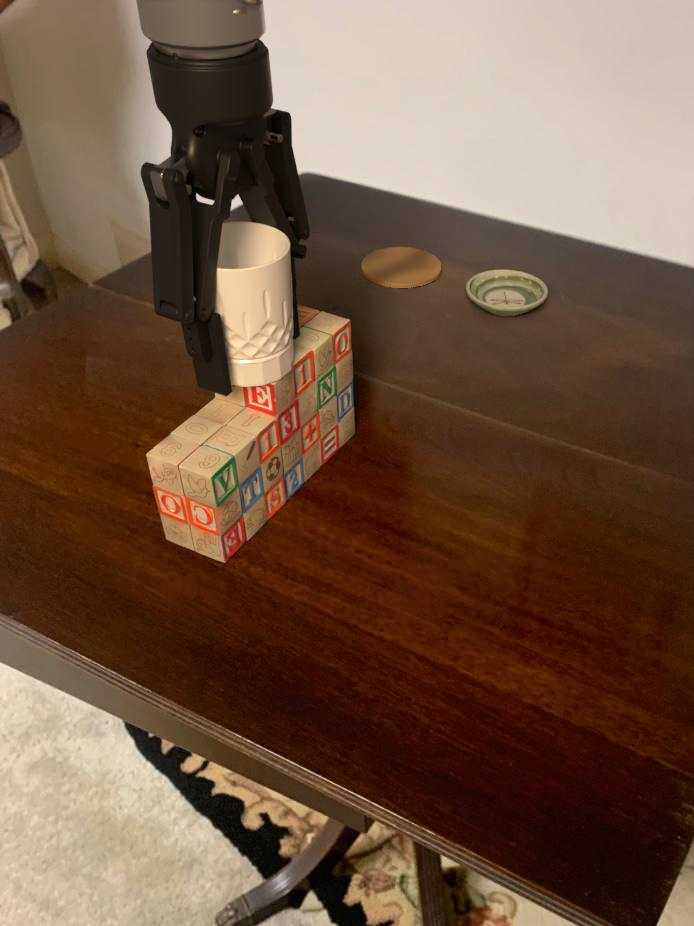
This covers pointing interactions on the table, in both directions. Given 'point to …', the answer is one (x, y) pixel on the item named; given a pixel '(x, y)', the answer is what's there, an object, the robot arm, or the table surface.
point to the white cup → (255, 302)
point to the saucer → (506, 291)
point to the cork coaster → (401, 267)
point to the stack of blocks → (256, 444)
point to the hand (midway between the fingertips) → (250, 359)
